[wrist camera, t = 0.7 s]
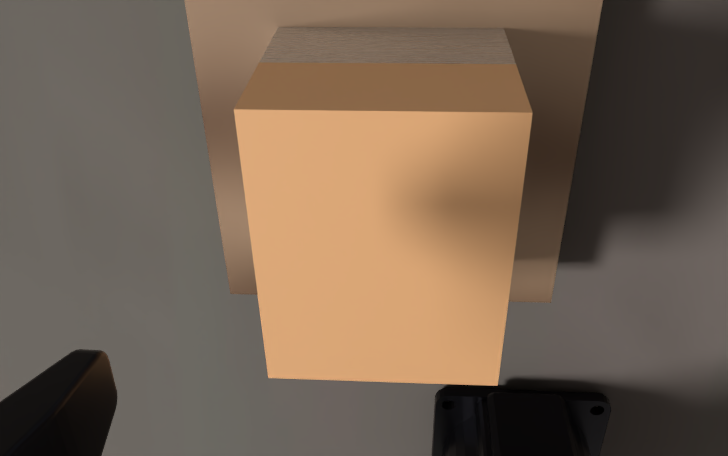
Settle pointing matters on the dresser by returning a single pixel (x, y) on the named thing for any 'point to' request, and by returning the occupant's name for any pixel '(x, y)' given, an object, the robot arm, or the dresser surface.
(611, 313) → the dresser surface
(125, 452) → the dresser surface
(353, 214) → the cover
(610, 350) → the dresser surface
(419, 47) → the housing base
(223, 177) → the walnut stand
